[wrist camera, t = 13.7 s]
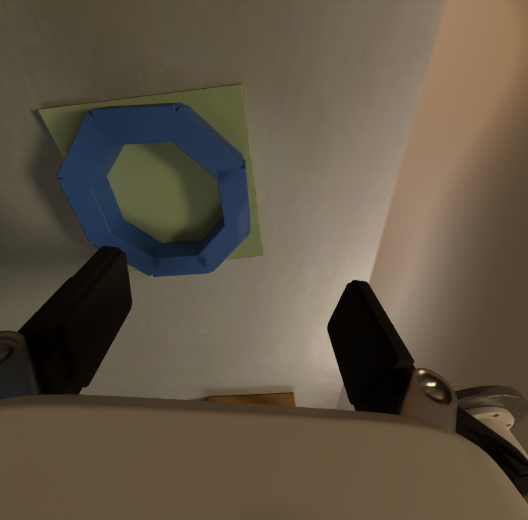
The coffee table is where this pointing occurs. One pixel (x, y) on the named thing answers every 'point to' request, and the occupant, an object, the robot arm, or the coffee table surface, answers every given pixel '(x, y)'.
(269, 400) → the platform
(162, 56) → the coffee table surface
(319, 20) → the coffee table surface
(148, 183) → the mat
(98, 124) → the ring
